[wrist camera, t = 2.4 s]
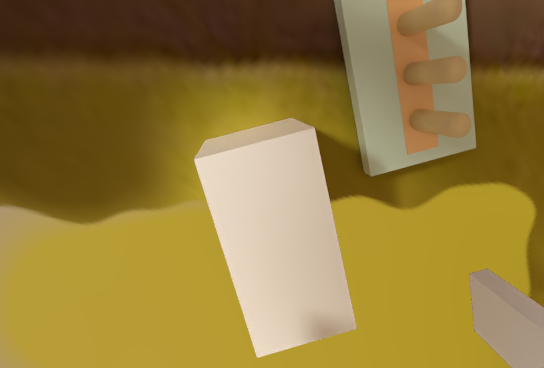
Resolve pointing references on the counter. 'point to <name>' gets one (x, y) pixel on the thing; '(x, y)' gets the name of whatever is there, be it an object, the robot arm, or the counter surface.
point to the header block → (407, 79)
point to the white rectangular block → (277, 233)
